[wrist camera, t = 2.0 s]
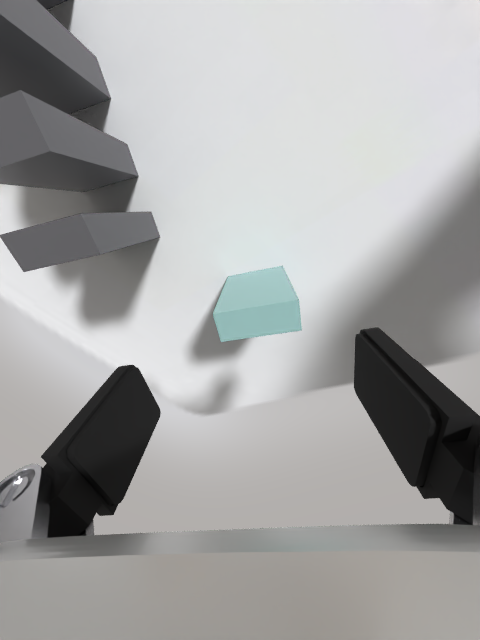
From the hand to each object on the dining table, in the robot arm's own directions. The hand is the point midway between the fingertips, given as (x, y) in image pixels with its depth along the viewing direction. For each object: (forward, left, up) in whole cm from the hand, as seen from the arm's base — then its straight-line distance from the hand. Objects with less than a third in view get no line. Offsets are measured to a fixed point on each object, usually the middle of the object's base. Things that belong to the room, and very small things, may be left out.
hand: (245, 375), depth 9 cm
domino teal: (-1, 0, -12) cm, 12 cm away
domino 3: (+9, -7, -12) cm, 17 cm away
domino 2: (+9, -11, -12) cm, 19 cm away
